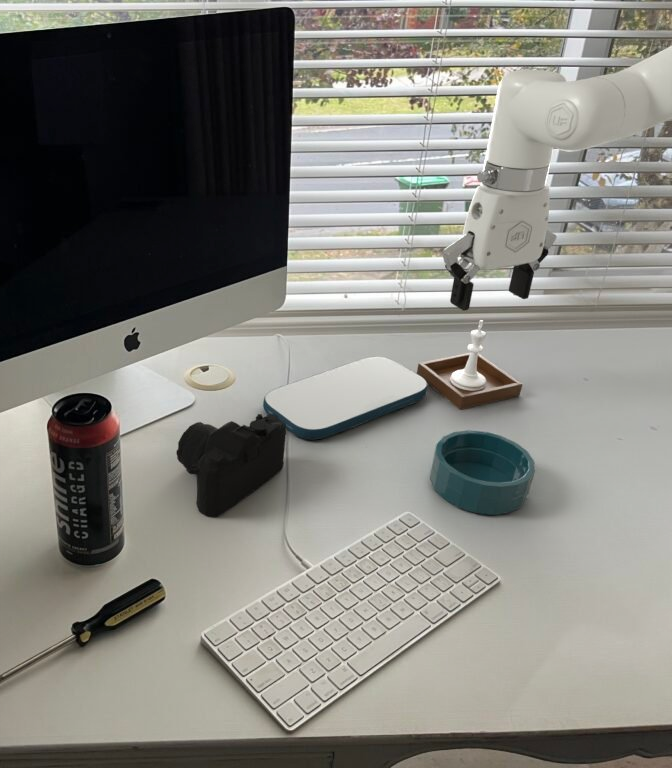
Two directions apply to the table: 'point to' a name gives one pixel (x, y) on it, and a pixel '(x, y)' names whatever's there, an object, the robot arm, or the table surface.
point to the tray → (495, 390)
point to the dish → (482, 472)
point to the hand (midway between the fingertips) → (488, 300)
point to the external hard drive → (344, 397)
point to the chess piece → (471, 365)
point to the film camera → (232, 460)
